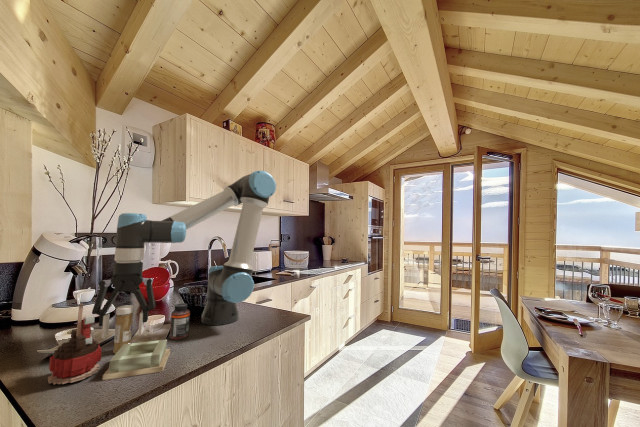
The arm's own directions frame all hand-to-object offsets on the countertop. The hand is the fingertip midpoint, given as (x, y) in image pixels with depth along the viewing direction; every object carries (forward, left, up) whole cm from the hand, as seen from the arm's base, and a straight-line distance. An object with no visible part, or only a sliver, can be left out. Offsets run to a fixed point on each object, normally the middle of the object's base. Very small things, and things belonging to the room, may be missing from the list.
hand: (123, 334), depth 82 cm
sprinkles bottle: (0, 0, -5) cm, 5 cm away
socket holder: (-8, +12, -5) cm, 15 cm away
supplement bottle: (-15, -7, -5) cm, 17 cm away
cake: (+6, +14, -5) cm, 16 cm away
